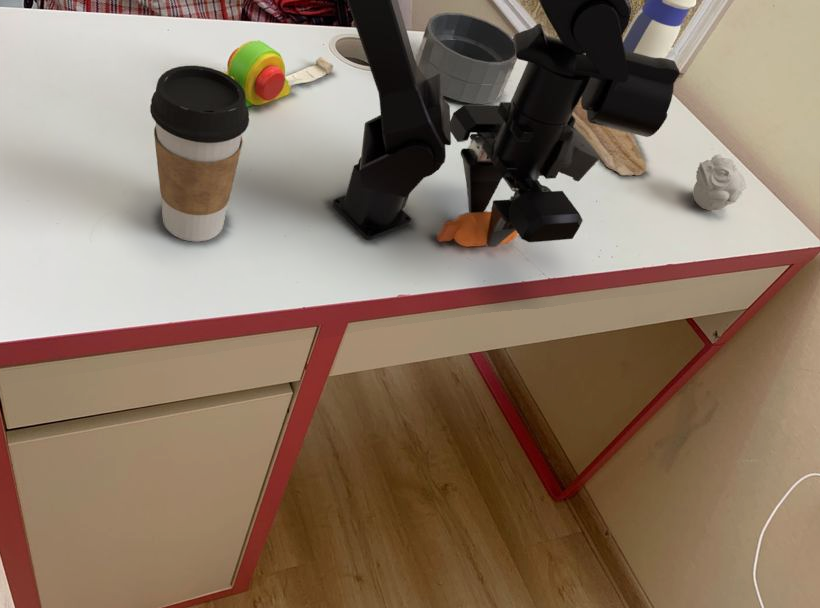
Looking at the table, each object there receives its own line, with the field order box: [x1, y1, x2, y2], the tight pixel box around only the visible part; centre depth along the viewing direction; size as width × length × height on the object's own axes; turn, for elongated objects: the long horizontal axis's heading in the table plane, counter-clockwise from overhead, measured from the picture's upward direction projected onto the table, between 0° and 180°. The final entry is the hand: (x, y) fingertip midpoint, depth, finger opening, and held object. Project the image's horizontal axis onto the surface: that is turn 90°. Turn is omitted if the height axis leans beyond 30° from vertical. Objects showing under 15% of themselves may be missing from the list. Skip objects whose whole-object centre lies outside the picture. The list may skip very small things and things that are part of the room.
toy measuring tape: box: [222, 40, 334, 107], centre depth 86 cm, size 6×19×7 cm, turn 138°
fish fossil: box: [572, 96, 647, 177], centre depth 102 cm, size 26×10×1 cm, turn 18°
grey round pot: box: [415, 12, 518, 105], centre depth 98 cm, size 13×13×6 cm
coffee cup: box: [149, 65, 250, 243], centre depth 65 cm, size 8×8×15 cm
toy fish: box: [436, 211, 519, 248], centre depth 77 cm, size 9×4×4 cm, turn 109°
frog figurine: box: [692, 154, 747, 211], centre depth 91 cm, size 6×7×7 cm
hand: (482, 232), depth 78 cm, fingers open, 4 cm apart
